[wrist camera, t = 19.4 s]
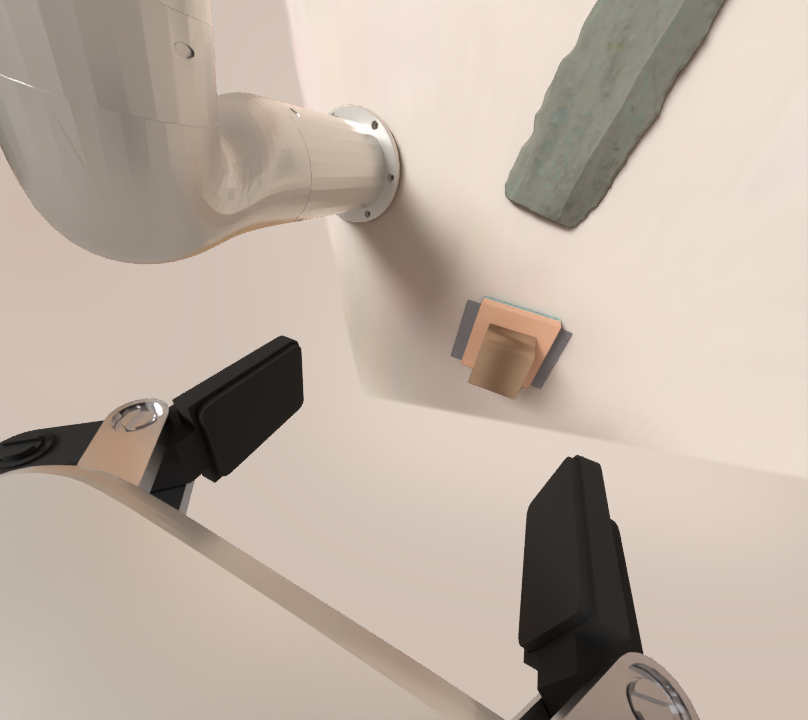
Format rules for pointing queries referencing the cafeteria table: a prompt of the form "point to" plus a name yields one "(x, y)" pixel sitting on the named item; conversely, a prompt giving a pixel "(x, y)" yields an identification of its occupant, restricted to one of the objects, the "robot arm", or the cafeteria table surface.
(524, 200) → the stone slab
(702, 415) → the cafeteria table surface
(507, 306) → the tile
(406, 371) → the cafeteria table surface
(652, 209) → the cafeteria table surface
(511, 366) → the walnut block
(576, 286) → the cafeteria table surface
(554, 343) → the mat
